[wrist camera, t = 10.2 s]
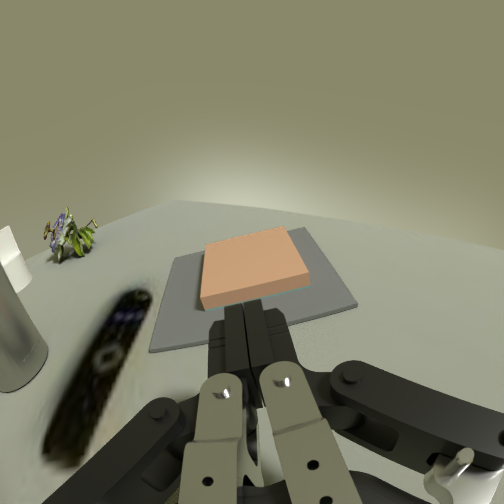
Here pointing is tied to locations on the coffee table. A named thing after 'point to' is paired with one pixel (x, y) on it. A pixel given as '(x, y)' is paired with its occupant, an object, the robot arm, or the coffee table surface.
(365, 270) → the coffee table surface
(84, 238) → the passion flower
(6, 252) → the cylinder with rectangular tab
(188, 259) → the mat
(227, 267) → the tile
